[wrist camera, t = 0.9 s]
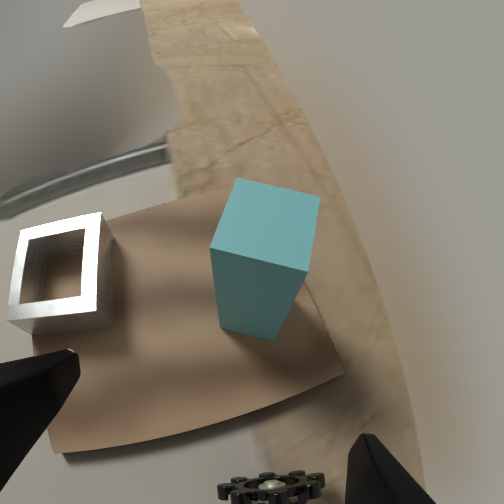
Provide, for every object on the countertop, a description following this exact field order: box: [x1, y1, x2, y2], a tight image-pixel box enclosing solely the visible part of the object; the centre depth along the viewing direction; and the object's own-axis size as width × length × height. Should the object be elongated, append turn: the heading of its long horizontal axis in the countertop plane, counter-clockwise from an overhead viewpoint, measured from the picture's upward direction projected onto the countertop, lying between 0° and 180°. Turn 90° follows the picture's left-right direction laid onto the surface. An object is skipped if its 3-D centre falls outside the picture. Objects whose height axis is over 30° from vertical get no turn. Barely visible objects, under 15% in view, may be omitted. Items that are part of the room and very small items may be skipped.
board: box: [32, 186, 346, 454], centre depth 23 cm, size 19×23×1 cm
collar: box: [7, 213, 114, 335], centre depth 21 cm, size 8×8×4 cm
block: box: [210, 178, 320, 341], centre depth 18 cm, size 4×4×11 cm
